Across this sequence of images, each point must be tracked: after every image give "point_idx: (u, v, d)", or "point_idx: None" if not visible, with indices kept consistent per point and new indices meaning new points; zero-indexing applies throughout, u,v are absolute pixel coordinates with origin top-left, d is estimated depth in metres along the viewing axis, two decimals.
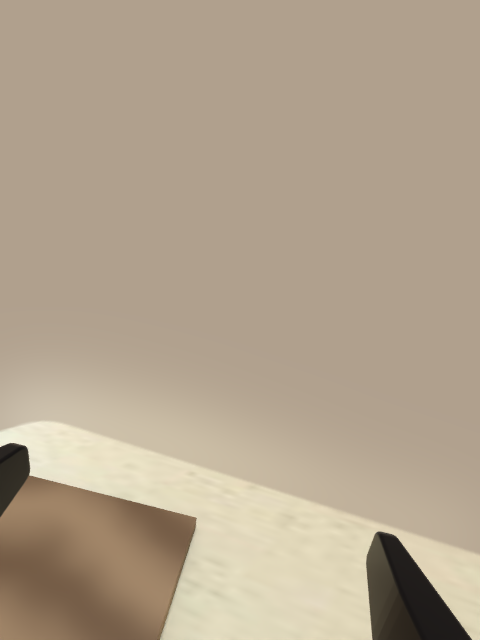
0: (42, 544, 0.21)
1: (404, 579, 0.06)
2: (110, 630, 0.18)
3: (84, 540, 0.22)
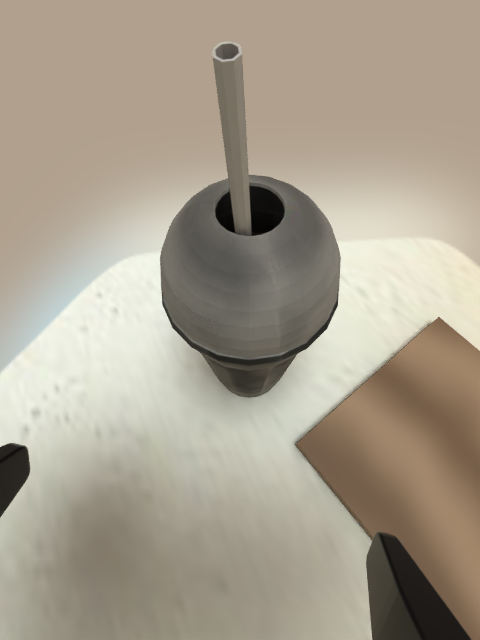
0: (458, 408, 0.21)
1: (404, 579, 0.06)
2: None
3: None
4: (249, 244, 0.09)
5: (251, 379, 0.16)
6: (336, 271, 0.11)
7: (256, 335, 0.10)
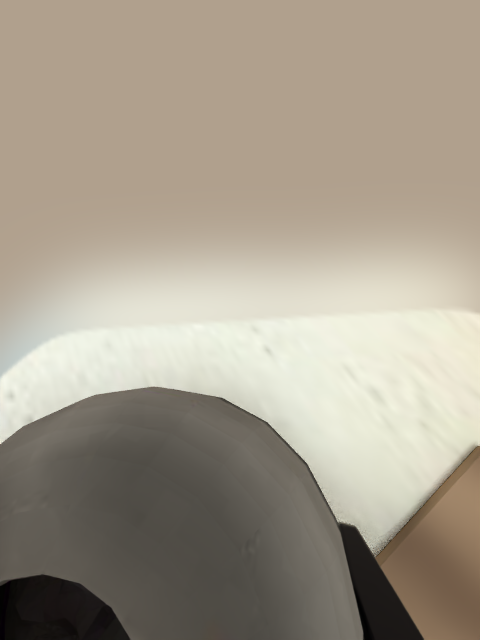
0: None
1: (357, 567, 0.06)
2: None
3: None
4: None
5: None
6: None
7: None
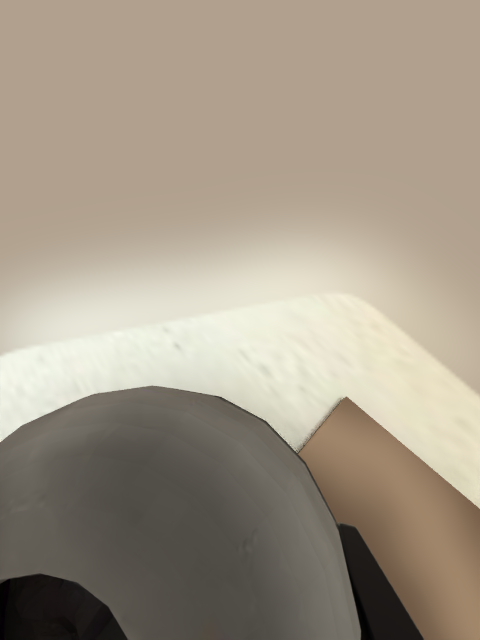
0: (369, 514, 0.18)
1: (357, 567, 0.06)
2: None
3: (415, 535, 0.18)
4: None
5: None
6: None
7: None
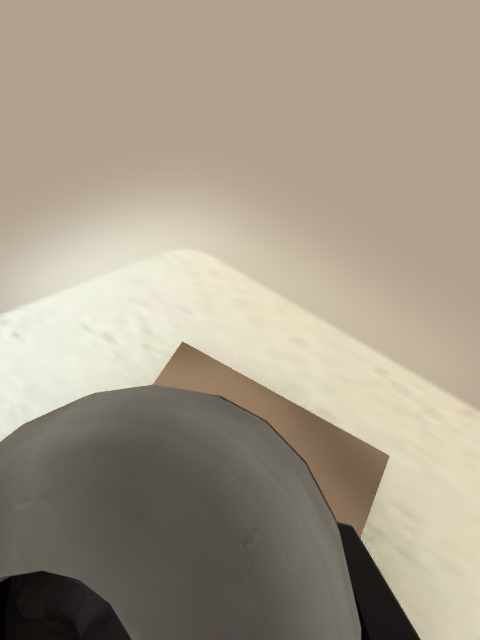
0: None
1: (353, 566, 0.06)
2: None
3: None
4: None
5: None
6: None
7: None
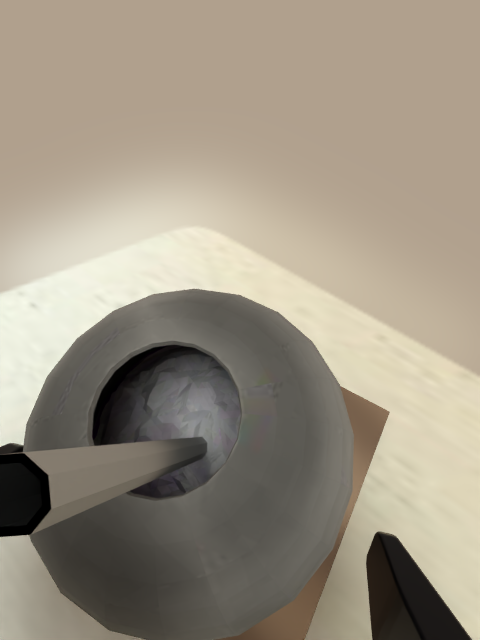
0: None
1: (404, 579, 0.06)
2: None
3: None
4: (154, 521, 0.04)
5: None
6: (348, 489, 0.06)
7: None
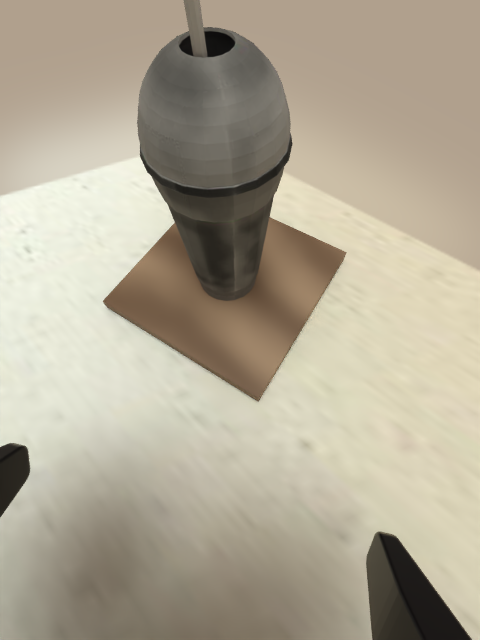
0: None
1: (404, 579, 0.06)
2: (273, 308, 0.25)
3: None
4: (203, 63, 0.12)
5: (220, 251, 0.19)
6: (281, 111, 0.13)
7: (211, 154, 0.13)
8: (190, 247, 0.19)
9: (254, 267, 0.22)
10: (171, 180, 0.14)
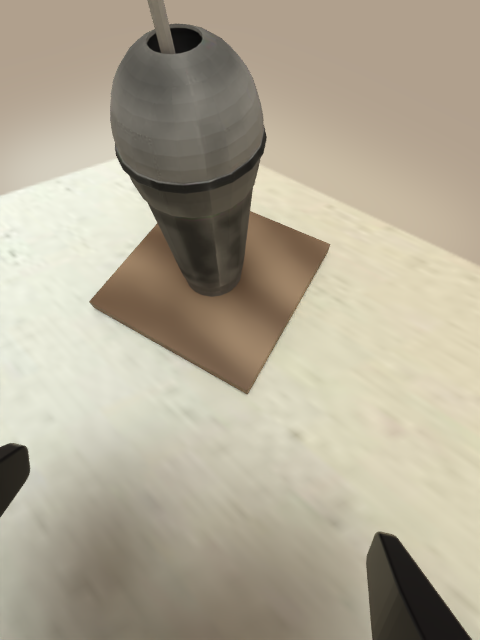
0: None
1: (404, 579, 0.06)
2: (259, 301, 0.25)
3: None
4: (171, 60, 0.12)
5: (201, 246, 0.19)
6: (252, 105, 0.13)
7: (183, 150, 0.13)
8: (172, 244, 0.20)
9: (238, 262, 0.22)
10: (146, 177, 0.14)
